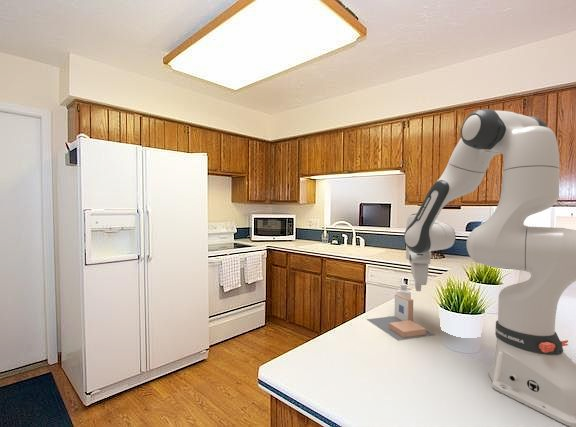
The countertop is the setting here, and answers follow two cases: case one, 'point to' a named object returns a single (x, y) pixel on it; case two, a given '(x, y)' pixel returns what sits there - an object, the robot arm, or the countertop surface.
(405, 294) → the eye dropper bottle
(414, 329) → the tile
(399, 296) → the tile
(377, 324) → the mat
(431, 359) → the countertop surface
